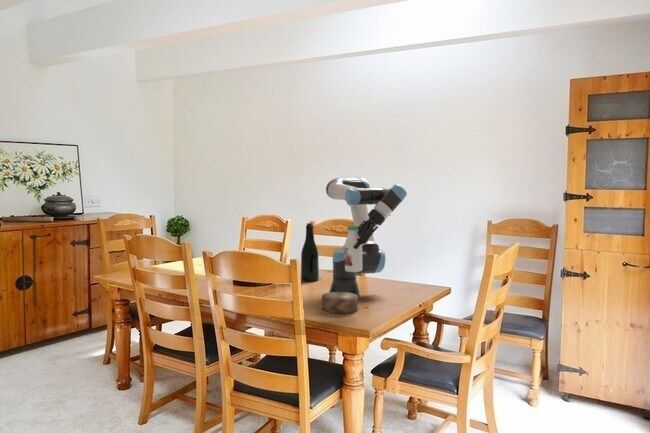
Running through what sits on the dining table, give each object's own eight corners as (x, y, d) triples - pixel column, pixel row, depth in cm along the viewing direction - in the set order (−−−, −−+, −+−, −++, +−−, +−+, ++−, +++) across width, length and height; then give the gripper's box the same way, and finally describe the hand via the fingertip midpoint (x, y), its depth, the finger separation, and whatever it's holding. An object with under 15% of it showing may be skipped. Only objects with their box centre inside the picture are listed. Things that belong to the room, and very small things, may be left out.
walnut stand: (319, 313, 215) (319, 299, 214) (324, 304, 231) (324, 291, 230) (356, 314, 213) (356, 300, 213) (358, 305, 229) (358, 292, 228)
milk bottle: (361, 268, 225) (360, 224, 222) (363, 272, 217) (363, 226, 215) (344, 269, 224) (343, 225, 222) (346, 273, 216) (345, 227, 214)
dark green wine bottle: (299, 278, 291) (299, 222, 288) (317, 278, 293) (317, 222, 290) (301, 282, 280) (301, 224, 278) (320, 281, 282) (320, 223, 280)
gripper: (394, 221, 213) (359, 261, 210) (376, 217, 232) (344, 254, 229) (382, 209, 211) (347, 250, 208) (365, 206, 230) (333, 243, 227)
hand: (345, 252), depth 219 cm, fingers closed on milk bottle, 7 cm apart
